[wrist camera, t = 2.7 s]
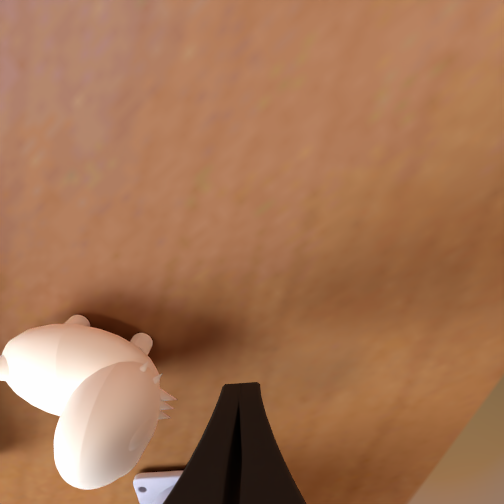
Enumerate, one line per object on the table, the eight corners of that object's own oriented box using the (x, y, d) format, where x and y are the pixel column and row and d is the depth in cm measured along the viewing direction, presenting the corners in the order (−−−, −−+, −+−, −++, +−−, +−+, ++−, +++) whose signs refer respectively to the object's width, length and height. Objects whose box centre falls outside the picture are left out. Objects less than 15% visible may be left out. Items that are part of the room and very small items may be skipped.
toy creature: (175, 397, 17) (136, 534, 11) (28, 358, 16) (-100, 487, 10) (198, 332, 15) (166, 453, 10) (37, 285, 14) (-109, 387, 9)
